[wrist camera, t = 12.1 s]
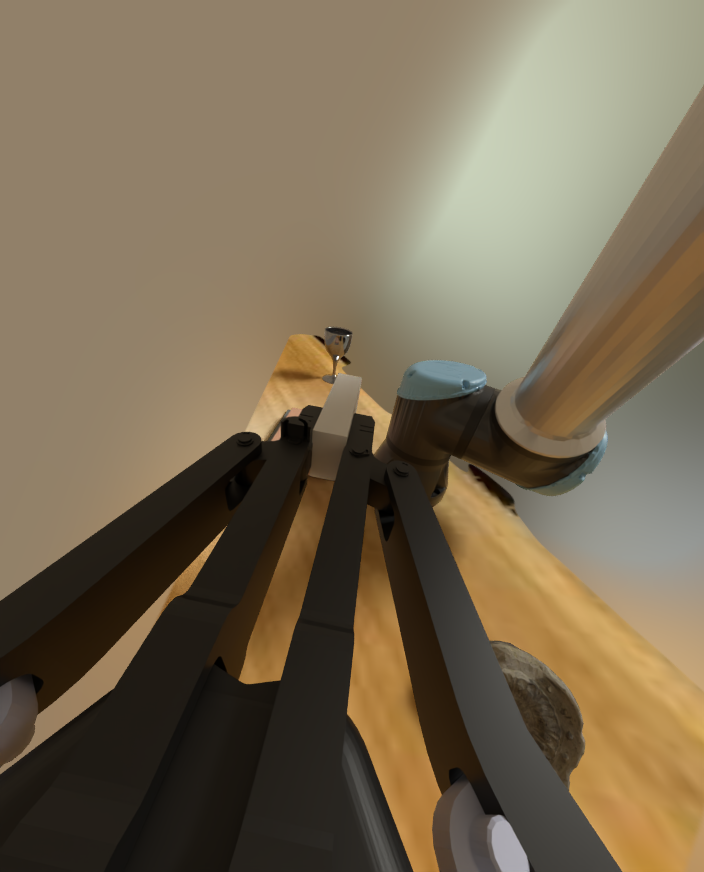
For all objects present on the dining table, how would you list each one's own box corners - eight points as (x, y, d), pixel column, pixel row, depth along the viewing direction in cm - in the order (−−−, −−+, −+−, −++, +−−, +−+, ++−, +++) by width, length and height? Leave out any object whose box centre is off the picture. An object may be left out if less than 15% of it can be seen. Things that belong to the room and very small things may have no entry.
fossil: (443, 775, 23) (474, 674, 22) (429, 673, 32) (451, 597, 31) (580, 828, 22) (622, 723, 20) (525, 706, 31) (552, 627, 29)
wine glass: (340, 386, 83) (347, 337, 74) (316, 380, 84) (320, 330, 75) (349, 377, 89) (356, 331, 80) (326, 371, 90) (331, 325, 82)
